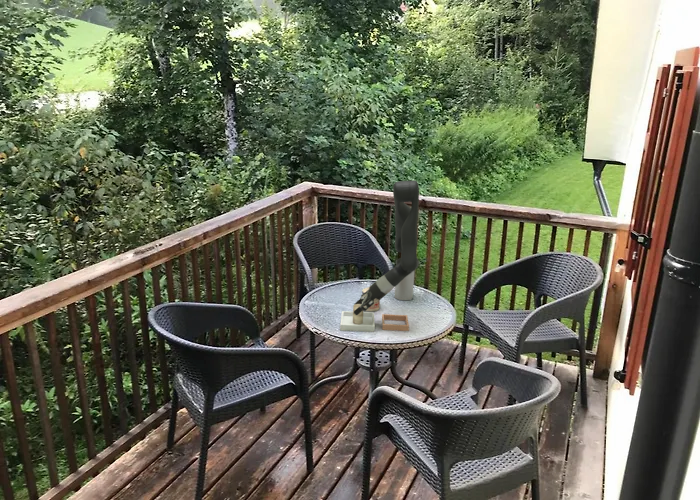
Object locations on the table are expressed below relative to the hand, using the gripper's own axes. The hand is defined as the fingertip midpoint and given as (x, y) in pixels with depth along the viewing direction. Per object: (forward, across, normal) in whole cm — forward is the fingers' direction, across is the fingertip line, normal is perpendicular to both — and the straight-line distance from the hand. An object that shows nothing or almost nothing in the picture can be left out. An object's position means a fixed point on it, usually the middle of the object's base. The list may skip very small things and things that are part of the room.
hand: (355, 309), depth 252 cm
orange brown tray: (-8, -1, +18) cm, 20 cm away
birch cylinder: (+3, 0, +5) cm, 6 cm away
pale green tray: (+4, 0, +6) cm, 7 cm away
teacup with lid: (-1, -20, +11) cm, 23 cm away
